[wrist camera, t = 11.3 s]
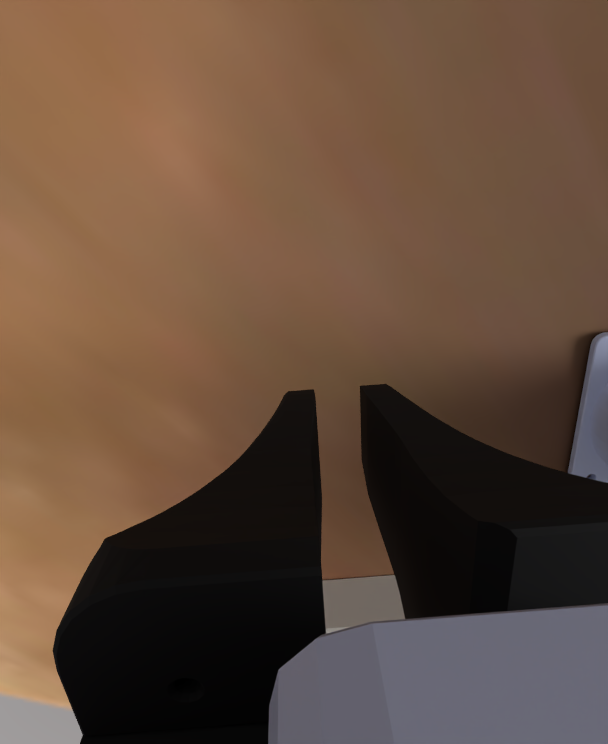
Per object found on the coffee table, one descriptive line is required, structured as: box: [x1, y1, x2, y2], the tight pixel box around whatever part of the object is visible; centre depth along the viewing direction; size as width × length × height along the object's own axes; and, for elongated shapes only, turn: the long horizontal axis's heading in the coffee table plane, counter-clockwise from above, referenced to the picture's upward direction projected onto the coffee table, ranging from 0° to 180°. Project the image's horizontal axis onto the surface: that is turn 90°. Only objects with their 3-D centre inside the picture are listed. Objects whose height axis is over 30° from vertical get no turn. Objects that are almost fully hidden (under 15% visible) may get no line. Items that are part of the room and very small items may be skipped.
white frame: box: [322, 575, 405, 634], centre depth 28 cm, size 12×12×3 cm
